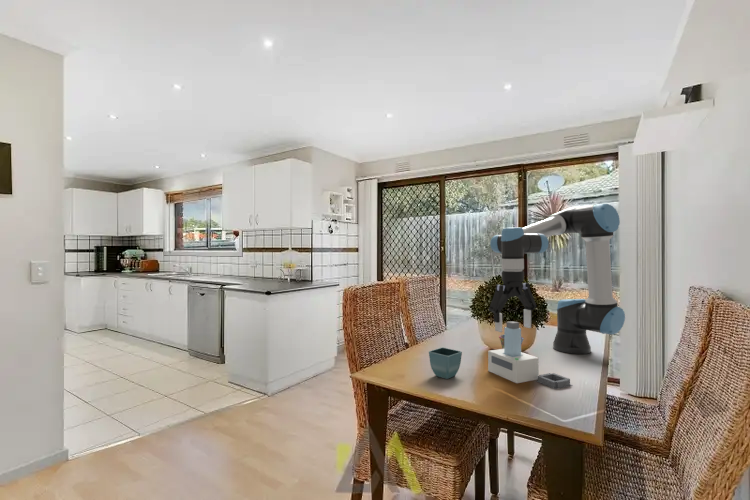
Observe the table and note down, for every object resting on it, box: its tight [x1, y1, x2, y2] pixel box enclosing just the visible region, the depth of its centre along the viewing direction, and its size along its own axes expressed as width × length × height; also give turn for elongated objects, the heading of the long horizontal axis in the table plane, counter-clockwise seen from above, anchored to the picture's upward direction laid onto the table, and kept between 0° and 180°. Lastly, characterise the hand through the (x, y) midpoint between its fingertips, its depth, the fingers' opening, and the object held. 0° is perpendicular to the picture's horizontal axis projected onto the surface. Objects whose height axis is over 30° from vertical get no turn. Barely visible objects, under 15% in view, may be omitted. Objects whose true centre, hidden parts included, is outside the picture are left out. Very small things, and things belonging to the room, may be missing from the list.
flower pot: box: [428, 347, 463, 380], centre depth 133 cm, size 9×9×9 cm
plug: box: [503, 320, 522, 357], centre depth 132 cm, size 4×4×15 cm
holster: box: [535, 372, 573, 390], centre depth 124 cm, size 8×8×2 cm
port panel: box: [487, 348, 540, 384], centre depth 132 cm, size 10×14×8 cm
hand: (513, 329), depth 133 cm, fingers open, 13 cm apart
